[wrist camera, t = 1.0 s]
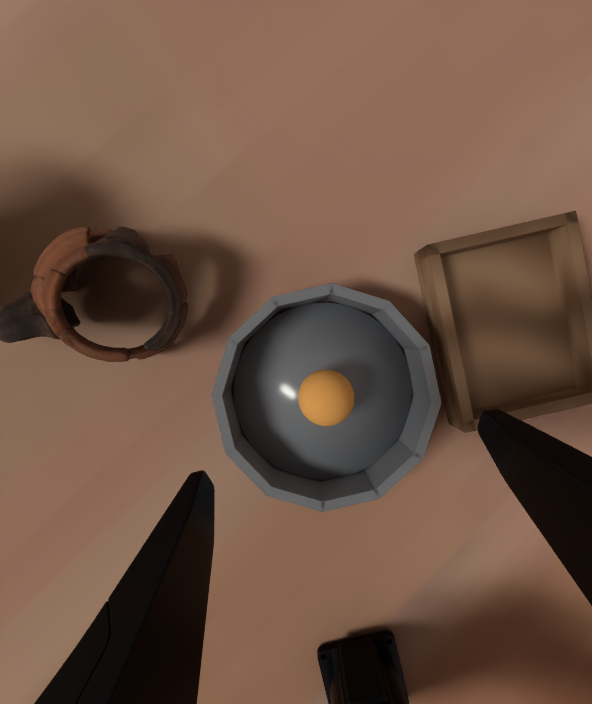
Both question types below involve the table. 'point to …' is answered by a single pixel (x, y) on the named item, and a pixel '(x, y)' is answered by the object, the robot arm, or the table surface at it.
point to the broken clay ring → (60, 276)
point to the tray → (510, 319)
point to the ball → (326, 397)
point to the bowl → (365, 378)
